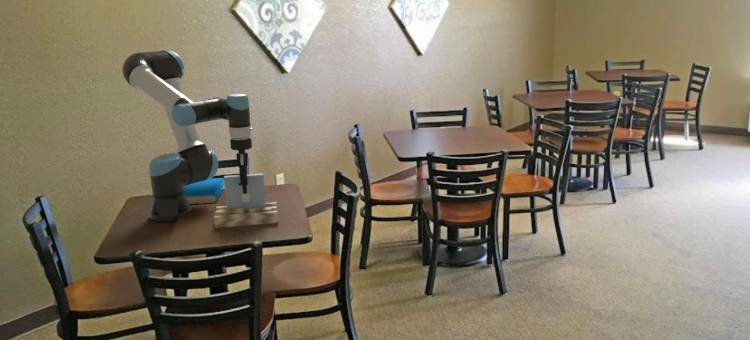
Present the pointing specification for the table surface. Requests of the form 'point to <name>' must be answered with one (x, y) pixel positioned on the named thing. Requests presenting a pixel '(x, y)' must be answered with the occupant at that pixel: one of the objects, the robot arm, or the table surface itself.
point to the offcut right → (260, 210)
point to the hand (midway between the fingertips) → (245, 200)
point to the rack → (246, 217)
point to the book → (204, 191)
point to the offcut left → (230, 211)
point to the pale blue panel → (254, 191)
